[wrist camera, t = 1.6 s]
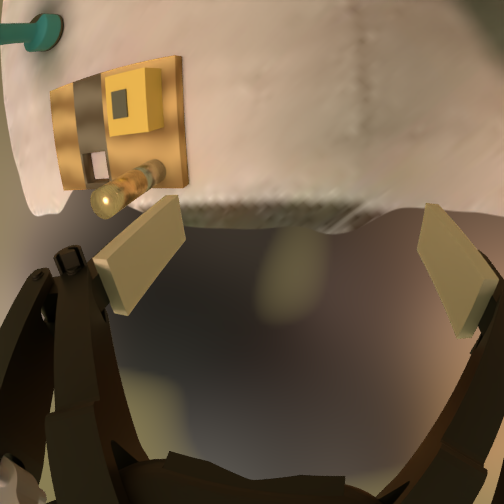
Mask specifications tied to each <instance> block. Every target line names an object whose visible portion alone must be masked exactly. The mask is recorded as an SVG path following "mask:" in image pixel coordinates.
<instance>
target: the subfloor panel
mask: <svg viewBox="0 0 504 504" xmlns="http://www.w3.org/2000/svg"><path fill="white" fill-rule="evenodd" d="M144 67H145V68H160V69H161V80H162V101H163V117H164V127H163V128H160V129H156V130H153V131H150V132H143V133H134V134H126V135H119V136H112V137H110V135H109V126H108V115H107V103H106V88H105V77H108V76H112V75H116V74H119V73H123V72H127V71H131V70H136V69H140V68H144ZM50 101H51V113H52V123H53V131H54V139H55V146H56V152H57V158H58V164H59V169H60V174H61V179H62V184H63V189H64V190H83V189H98V188H100V187H101V186H103V185H105V184H107V183H108V182H110V181H112V180H114V179H115V178H117V177H119V176H121V175H123V174H124V173H126V172H128V171H130V170H132V169H134V168H136V167H138V166H140V165H142V164H144V163H145V162H147V161H149V160H152V159H157V160H160V161H161V162H162V163H163V164H164V165H165V168H166V176H165V178H164V180H163V181H161V182H160V183H158V184H157V185H155V186H154V187H152V188H184V187H185V186H187V185H188V184H189V179H188V167H187V154H186V141H185V125H184V107H183V84H182V57H181V56H176V55H174V56H169V57H163V58H158V59H153V60H148V61H144V62H140V63H135V64H131V65H127V66H123V67H120V68H116V69H113V70H109V71H106V72H102V73H99V74H96V75H93V76H90V77H87V78H84V79H81V80H78V81H75V82H73V83H70V84H67V85H65V86H62V87H60V88H57V89H55V90H52V91H50ZM100 151H105V154H106V161H107V168H108V174H109V179H95V178H94V172H93V166H92V160H91V154H90V153H93V152H100Z"/></svg>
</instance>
